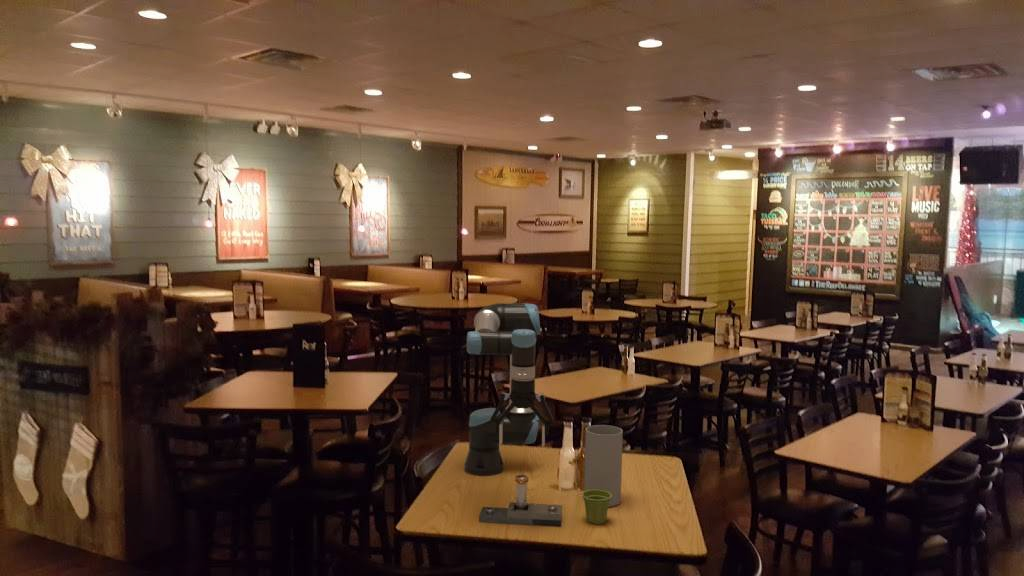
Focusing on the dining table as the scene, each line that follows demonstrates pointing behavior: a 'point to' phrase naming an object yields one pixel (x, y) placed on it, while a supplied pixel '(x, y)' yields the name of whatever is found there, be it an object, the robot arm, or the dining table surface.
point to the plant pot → (596, 505)
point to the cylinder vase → (604, 460)
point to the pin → (521, 491)
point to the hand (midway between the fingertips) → (522, 444)
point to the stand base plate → (524, 515)
